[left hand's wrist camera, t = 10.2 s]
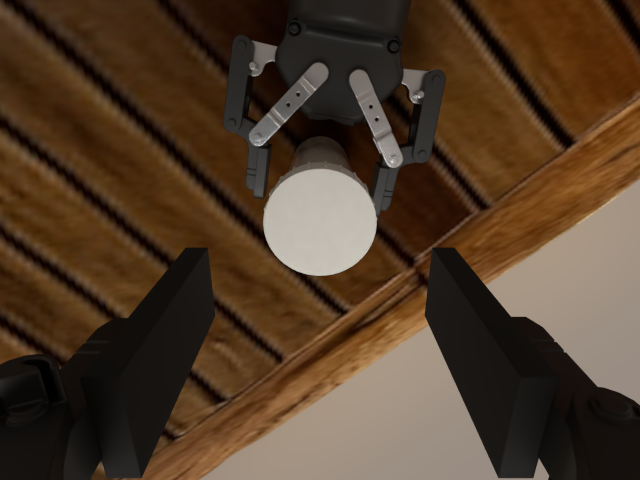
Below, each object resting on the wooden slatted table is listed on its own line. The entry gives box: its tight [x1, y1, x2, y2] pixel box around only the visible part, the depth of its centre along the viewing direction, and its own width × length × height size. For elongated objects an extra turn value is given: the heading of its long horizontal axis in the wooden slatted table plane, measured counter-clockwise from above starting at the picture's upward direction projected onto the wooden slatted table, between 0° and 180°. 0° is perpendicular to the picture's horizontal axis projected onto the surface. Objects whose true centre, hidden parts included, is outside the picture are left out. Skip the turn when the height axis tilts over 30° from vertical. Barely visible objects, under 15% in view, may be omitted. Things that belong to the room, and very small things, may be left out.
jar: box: [287, 136, 353, 173], centre depth 28 cm, size 5×5×16 cm
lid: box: [263, 161, 377, 276], centre depth 21 cm, size 6×6×2 cm
